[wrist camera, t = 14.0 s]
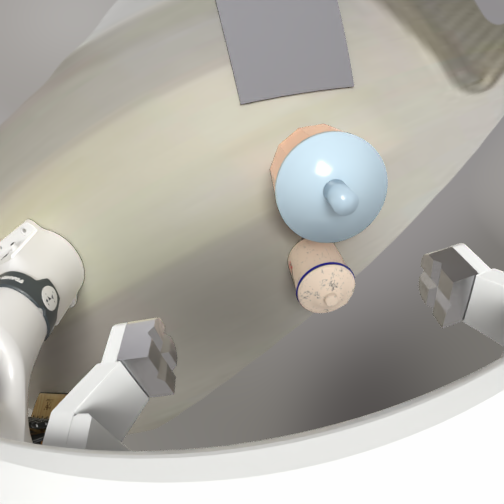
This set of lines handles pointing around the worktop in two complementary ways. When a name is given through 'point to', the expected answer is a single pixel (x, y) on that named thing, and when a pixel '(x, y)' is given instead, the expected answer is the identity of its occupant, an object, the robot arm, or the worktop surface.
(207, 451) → the robot arm
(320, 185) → the lid
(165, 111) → the worktop surface
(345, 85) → the mat
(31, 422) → the knife block
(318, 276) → the teacup with lid
